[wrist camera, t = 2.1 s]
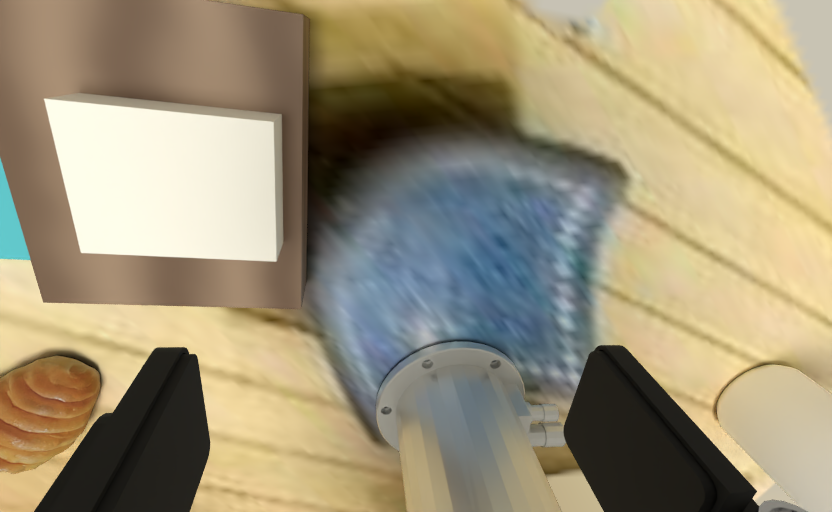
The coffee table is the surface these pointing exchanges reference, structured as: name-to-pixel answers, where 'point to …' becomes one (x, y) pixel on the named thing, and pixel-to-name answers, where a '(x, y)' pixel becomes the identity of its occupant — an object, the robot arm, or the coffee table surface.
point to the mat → (10, 225)
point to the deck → (157, 81)
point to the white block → (170, 177)
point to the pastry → (44, 410)
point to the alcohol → (783, 430)
